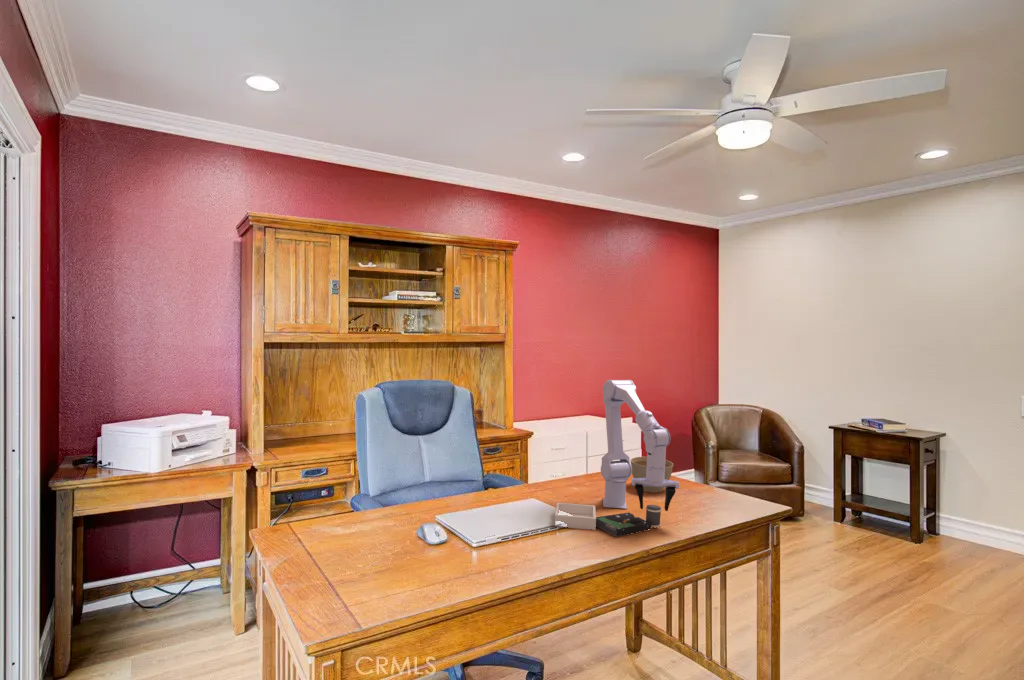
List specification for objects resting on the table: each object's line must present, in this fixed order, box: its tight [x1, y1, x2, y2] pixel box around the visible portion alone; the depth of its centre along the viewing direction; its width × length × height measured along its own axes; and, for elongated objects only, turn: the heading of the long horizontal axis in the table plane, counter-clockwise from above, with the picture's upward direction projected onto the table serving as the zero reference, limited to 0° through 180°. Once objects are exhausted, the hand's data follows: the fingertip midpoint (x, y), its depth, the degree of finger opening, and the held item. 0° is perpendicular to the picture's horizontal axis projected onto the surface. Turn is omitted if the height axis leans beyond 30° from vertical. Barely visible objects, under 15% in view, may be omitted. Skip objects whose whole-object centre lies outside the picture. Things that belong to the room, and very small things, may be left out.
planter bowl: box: [630, 456, 674, 494], centre depth 219 cm, size 16×16×11 cm
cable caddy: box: [554, 502, 597, 531], centre depth 180 cm, size 13×13×4 cm
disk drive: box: [596, 512, 652, 537], centre depth 176 cm, size 10×3×15 cm
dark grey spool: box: [645, 504, 662, 528], centre depth 179 cm, size 5×5×6 cm
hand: (653, 509), depth 179 cm, fingers open, 7 cm apart
